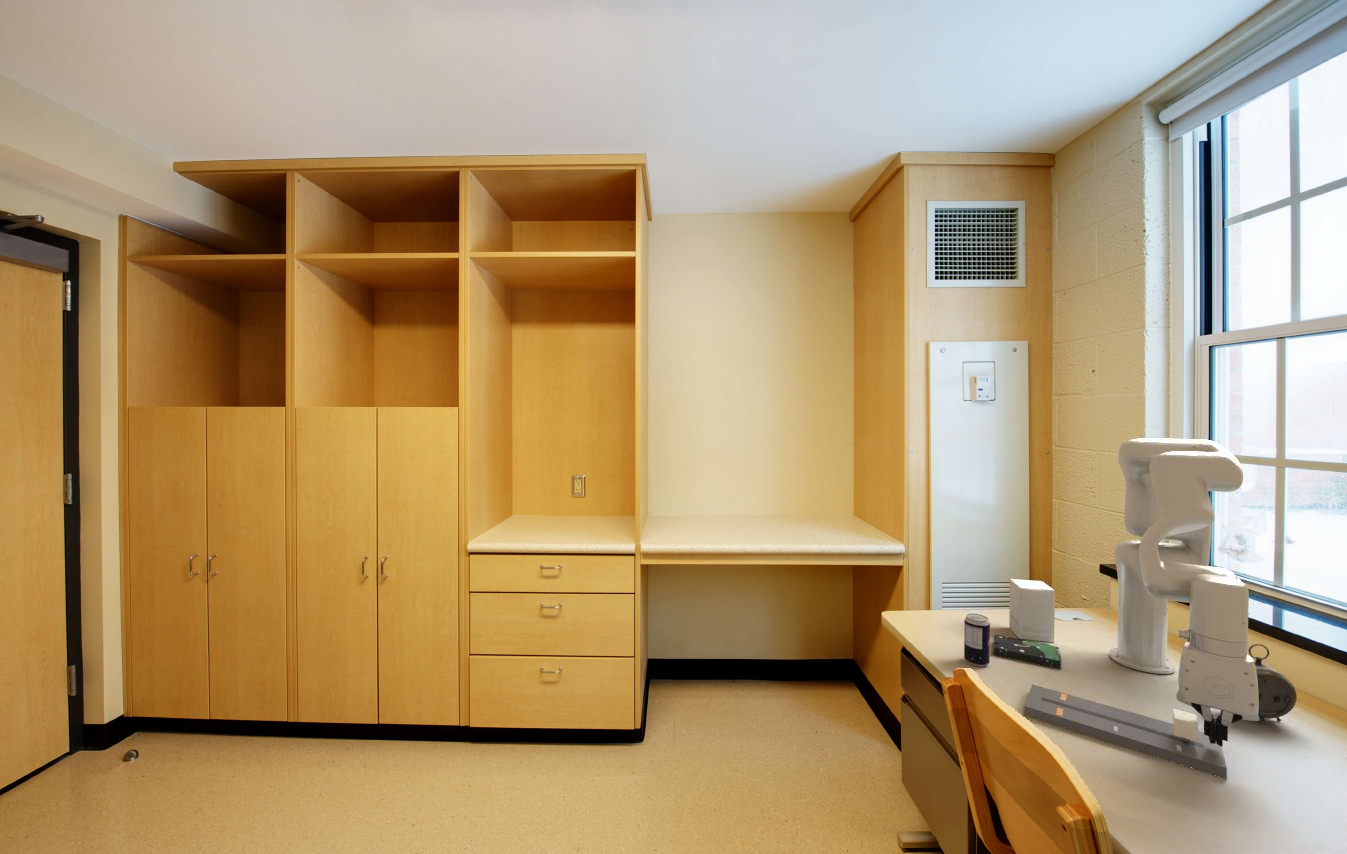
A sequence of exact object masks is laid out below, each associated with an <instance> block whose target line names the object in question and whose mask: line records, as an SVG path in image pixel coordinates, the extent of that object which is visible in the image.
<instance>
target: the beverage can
mask: <svg viewBox="0 0 1347 854" xmlns="http://www.w3.org/2000/svg"><path fill="white" fill-rule="evenodd" d="M963 625H964V627H963V629H964V630H963V632H964V633H963V634H964V636H963V637H964V640H963V641H964V642H963V647H964V648H963V649H964V650H963V652H964V653H963V657H964V659H965V661H967V663H968V664H969V665H972V666H973V667H977V668H978V667H979V668H983V667H986V666H987V665H989V663H990V655H991V653H990V652H991V651H990V649H991V648H990V641H991V639H990V637H991V635H990V634H991V633H990V631H991V628H990V627H991V624H990V622H989V618H988V617H987V616H985V615H984V614H983V615H982V614H979V613H968V614H966V615H965V618H964V624H963Z"/></svg>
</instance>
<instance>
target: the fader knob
mask: <svg viewBox="0 0 1347 854" xmlns="http://www.w3.org/2000/svg"><path fill="white" fill-rule="evenodd" d="M1172 724H1173V729H1174V735H1176V736H1180V737H1181V739H1183V740H1186V741H1190V740H1193V741H1197V742H1198V731H1199V720H1198V716H1197V714H1195V713H1192V712H1191V713H1190V712H1188V711H1183V710H1180V709H1176V708H1172Z"/></svg>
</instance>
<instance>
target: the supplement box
mask: <svg viewBox="0 0 1347 854" xmlns="http://www.w3.org/2000/svg"><path fill="white" fill-rule="evenodd" d="M1055 613H1056V591H1055V590H1054V589H1053V588H1052V587H1051V586H1049V584H1046V583H1045V582H1044V581H1041V580H1029V579H1017V578H1016V579H1015V578H1010V579H1009V619H1008V620H1009V621H1008V622H1009V623H1008V625H1009V629H1010V630H1011V631H1012V632H1013V633H1014V634H1015V635H1016V637H1018V638H1017V639H1022V640H1027V641H1035V642H1038V641H1039V642H1047V643H1055Z"/></svg>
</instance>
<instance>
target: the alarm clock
mask: <svg viewBox="0 0 1347 854" xmlns="http://www.w3.org/2000/svg"><path fill="white" fill-rule="evenodd" d="M1256 646H1259V647H1260V646H1261V647H1263V648H1264V649H1265V650H1266V653H1267V654H1266V655H1265V656H1264V657H1260V656H1256V657H1255V656H1254V655H1252V651H1251V650H1252V649H1253V648H1254V647H1256ZM1248 654H1249V656H1250V657H1251V658H1252V659H1253V660H1254V663H1255V667H1256V672H1257V680H1258V695H1259V711H1258V716H1259V719H1260V720H1259V722H1260V724H1261V725H1262V726H1266V722H1265V720H1270V719H1276V721H1277V720H1278V722H1279V721H1281V722H1282V719H1281V718H1280V717H1284V716H1286V715H1287V714H1289V713H1290V712H1291V711H1292V710H1293V708H1294V707H1295V705H1296V703H1297V691H1296V689H1295V686H1294V684H1293V683H1292V682H1291V680H1289V679H1288V677H1286V676H1285V675H1284V674H1282V673H1281V672H1279V670H1277V669H1275V668H1274V667H1272V666H1271V665H1269V664H1267V663H1266V662H1263V660H1265V659H1267V658H1268V657H1269V655H1270V650H1269V648H1268V647H1267V646H1266V645H1264V644H1261V643H1254V644H1251V645H1250V646H1249V648H1248Z"/></svg>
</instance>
